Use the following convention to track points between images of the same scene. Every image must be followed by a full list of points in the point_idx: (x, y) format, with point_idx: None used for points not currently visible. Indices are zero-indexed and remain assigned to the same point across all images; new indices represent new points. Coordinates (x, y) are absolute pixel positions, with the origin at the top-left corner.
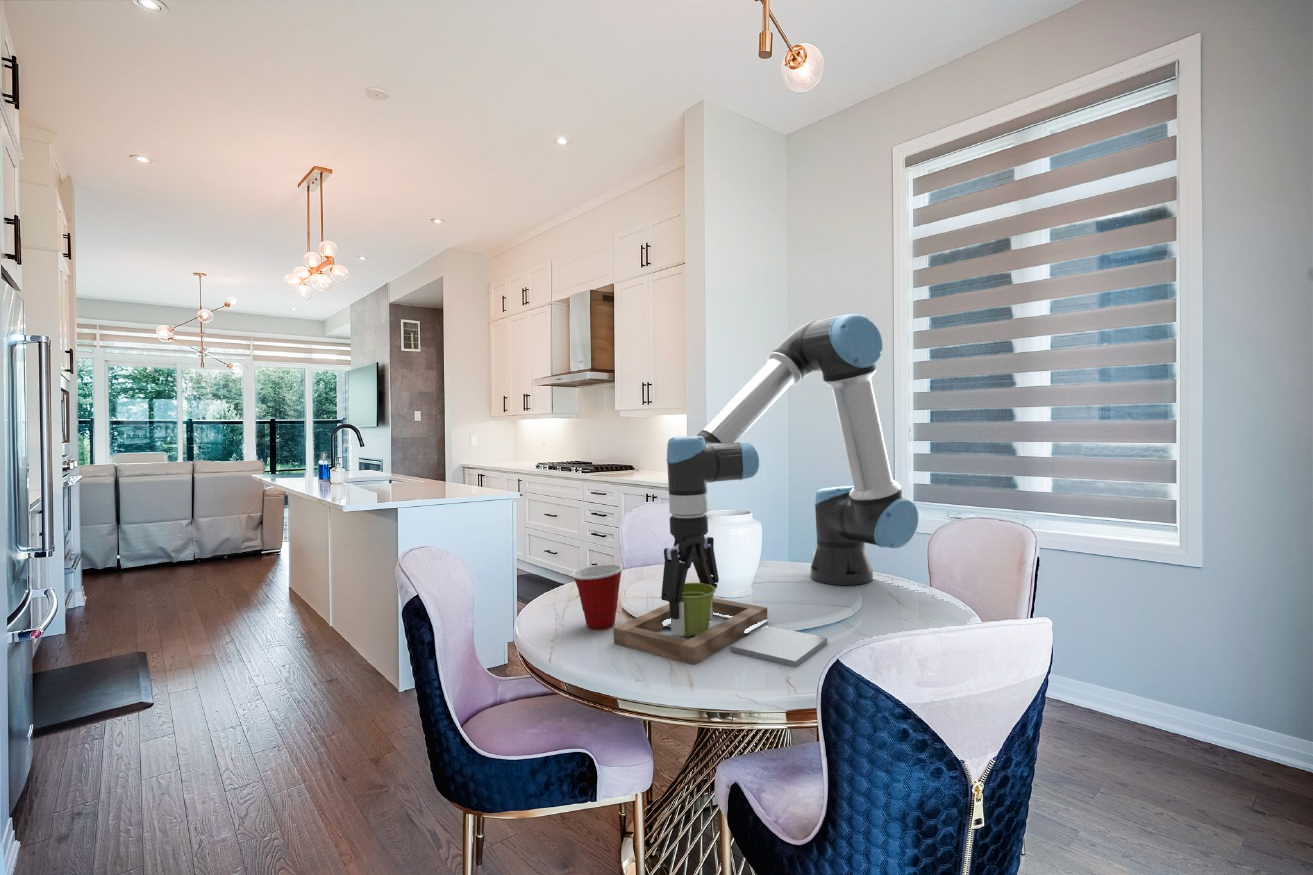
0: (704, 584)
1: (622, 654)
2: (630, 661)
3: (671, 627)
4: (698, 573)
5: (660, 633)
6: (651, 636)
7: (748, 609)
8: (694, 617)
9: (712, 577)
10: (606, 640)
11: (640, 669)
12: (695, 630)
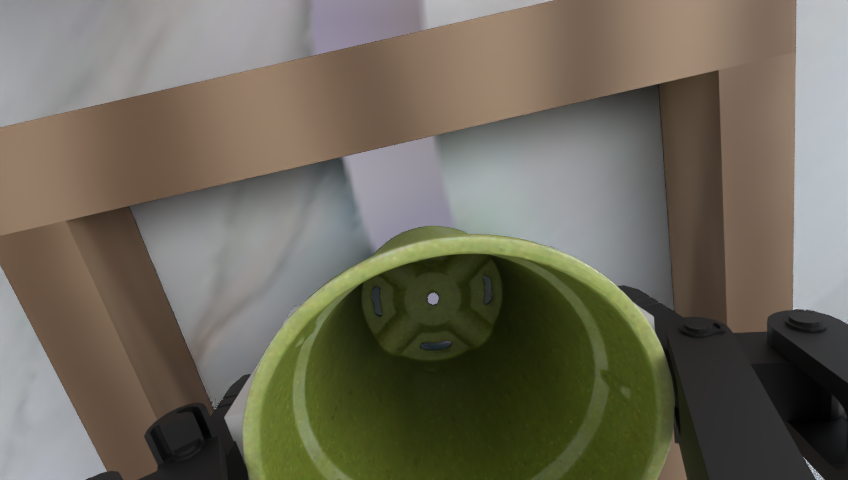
0: (656, 401)
1: (8, 290)
2: (7, 373)
3: (285, 321)
4: (696, 460)
5: (146, 402)
6: (82, 406)
7: None
8: (381, 420)
9: (811, 406)
10: (9, 75)
11: (10, 455)
12: (392, 370)
